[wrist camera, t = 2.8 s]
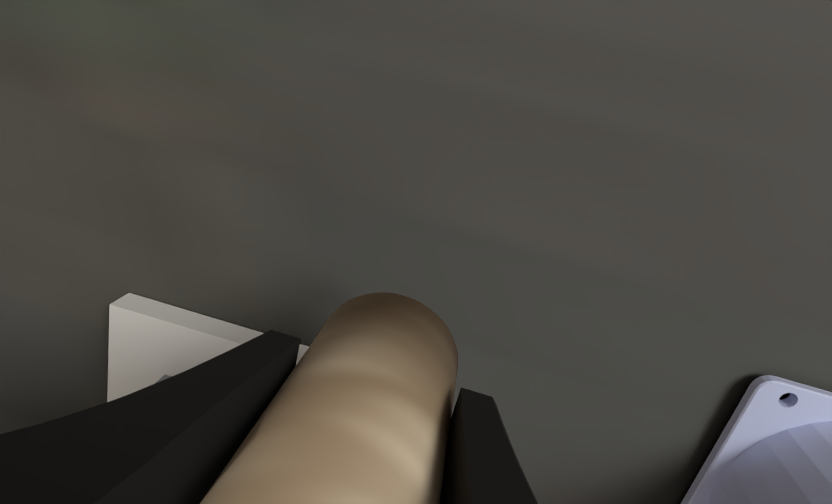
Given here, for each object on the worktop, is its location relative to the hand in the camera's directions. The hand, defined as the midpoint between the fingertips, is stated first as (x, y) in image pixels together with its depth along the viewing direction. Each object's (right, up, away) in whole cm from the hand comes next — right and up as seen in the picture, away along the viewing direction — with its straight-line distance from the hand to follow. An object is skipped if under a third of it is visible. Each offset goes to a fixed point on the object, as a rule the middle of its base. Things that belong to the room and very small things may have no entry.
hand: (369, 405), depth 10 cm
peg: (0, +1, +2) cm, 2 cm away
